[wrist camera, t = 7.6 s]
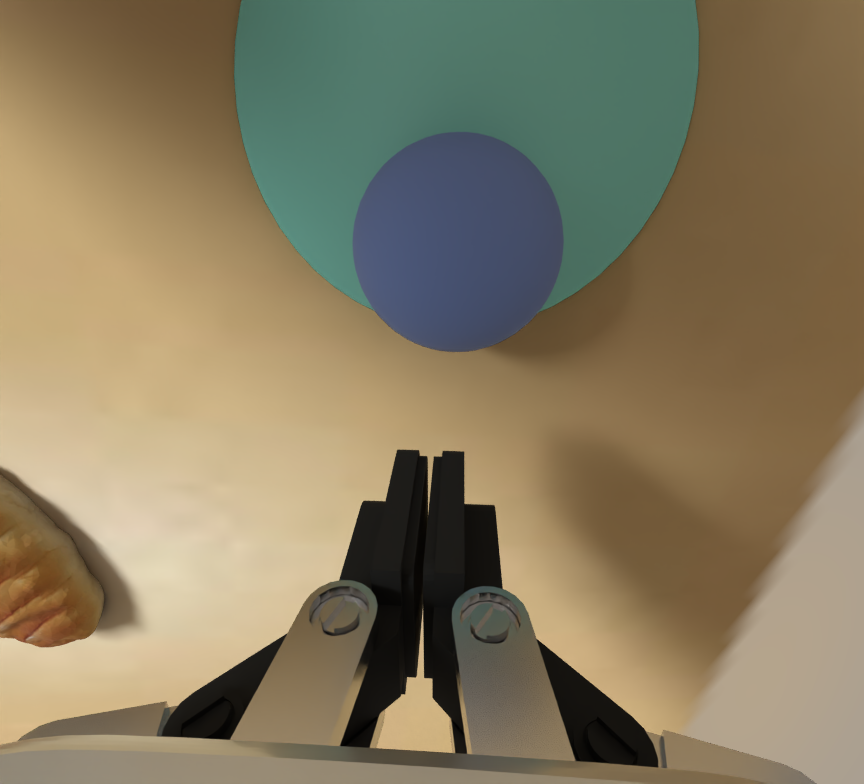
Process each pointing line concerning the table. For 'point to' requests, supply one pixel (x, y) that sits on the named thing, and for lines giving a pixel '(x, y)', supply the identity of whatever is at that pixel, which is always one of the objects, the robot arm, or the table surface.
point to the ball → (458, 241)
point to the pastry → (42, 577)
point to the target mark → (466, 108)
